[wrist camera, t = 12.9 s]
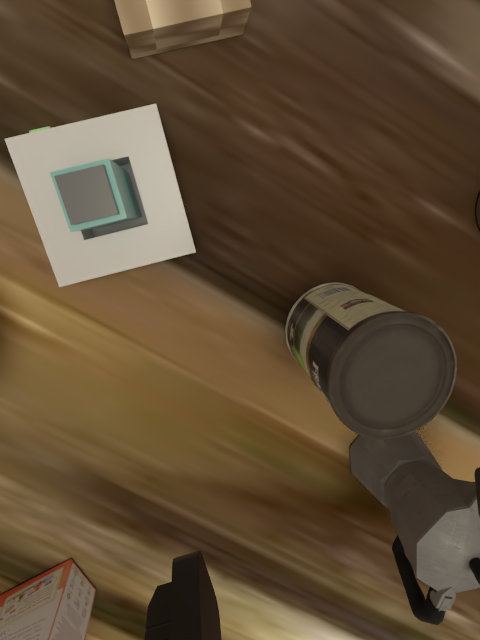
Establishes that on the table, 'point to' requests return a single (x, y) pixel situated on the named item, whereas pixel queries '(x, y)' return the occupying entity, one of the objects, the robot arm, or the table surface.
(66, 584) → the cracker box
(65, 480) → the table surface
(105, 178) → the plug
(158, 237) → the port
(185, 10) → the holster
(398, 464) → the coffeepot
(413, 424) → the coffee can
